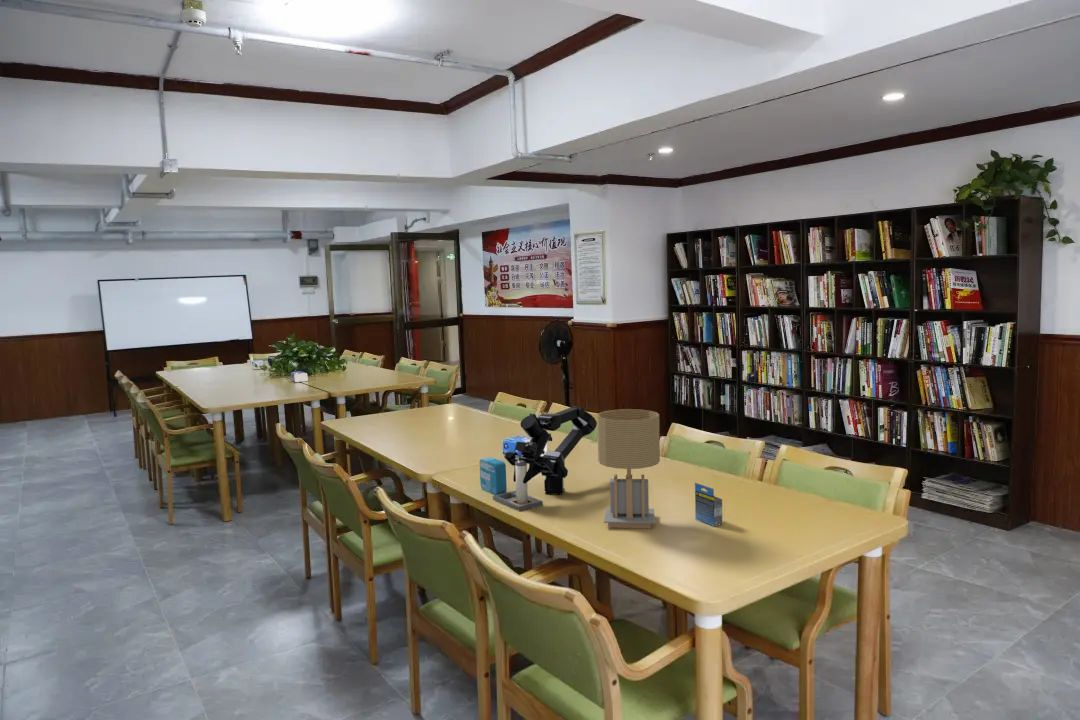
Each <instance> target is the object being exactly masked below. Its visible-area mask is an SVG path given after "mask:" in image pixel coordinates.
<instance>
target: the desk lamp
mask: <svg viewBox="0 0 1080 720" xmlns="http://www.w3.org/2000/svg"><path fill="white" fill-rule="evenodd" d="M596 417H597V418H596V419H597V420H596V422H597V426H596V427H597V461H598V462H599V465H602V466H604V467H607V468H613V469H620V470H621V469H622V470H623V469H624V470H626V474H625V478H618V474H614V476H613V478H610V480H609V500H610V501H609V503H610V504H609V505H610V507H606V508H605V512H604V513H605V514H604V520H603V523H604V524H608V526H607V528H608V527H618V529H621V528H620V527H623V528H622V529H652V525H653V524H655V525H656V517H655V508H650V506H649V505H650V503H649V500H650V499H649V497H650V496H649V478H645V474H641V476H640V477H641V478H633V474H632V470H635V469H636V470H639V469H644V468H645V469H646V468H650V467H651V468H652V467H654V466H657V465H658V464H659V463H660V461H661V455H660V454H661V453H660V452H661V451H660V449H661V447H660V446H661V445H660V442H661V441H660V440H661V439H660V414H659V413H658V412H657V411H653V410H648V409H647V410H646V409H636V408H635V409H633V408H623V409H613V410H606V411H601V412H599V413H598V414H597V416H596ZM626 527H627V528H626ZM630 527H632V528H630Z"/></svg>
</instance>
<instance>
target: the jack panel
mask: <svg viewBox="0 0 1080 720" xmlns="http://www.w3.org/2000/svg"><path fill="white" fill-rule="evenodd" d="M507 497H508V498H507ZM512 497H513V498H512ZM503 498H504V499H503ZM492 500H493V501H494V500H495V502H497V503H499V502H500V503H499V504H501V503H502V505H503V506H507V507H508V506H509V508H511V509H513V508H514V509H513V510H515V509H516V511H517V510H519V511H518V512H521V511H520V510H522V511H525V510H524V509H526V510H529V509H528V508H530V509H533V508H532V507H534V508H537V506H538V507H540V506H541V505H542V506H543V505H544V504H543V503H544V502H543V500H541V499H538V498H535V497H534V496H530V495H528V503H527V504H523V505H518V504H517V500H516V490H512V491H506V492H505V493H501V494H497V495H494V494H493V495H492Z"/></svg>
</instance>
